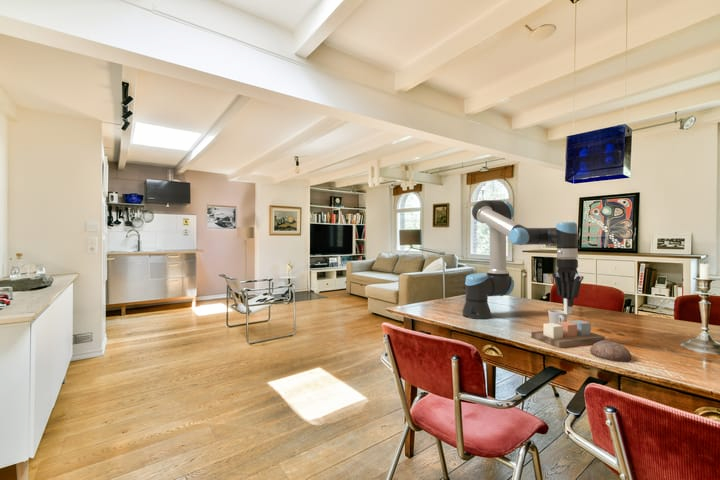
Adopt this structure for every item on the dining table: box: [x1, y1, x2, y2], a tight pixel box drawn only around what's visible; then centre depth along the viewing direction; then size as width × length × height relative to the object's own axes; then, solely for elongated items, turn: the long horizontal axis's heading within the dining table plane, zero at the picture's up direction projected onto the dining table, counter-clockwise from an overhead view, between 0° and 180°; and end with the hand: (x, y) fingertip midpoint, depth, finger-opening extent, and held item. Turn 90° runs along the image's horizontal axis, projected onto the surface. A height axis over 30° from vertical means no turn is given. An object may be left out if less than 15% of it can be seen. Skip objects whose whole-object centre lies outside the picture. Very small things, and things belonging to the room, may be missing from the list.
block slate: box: [570, 319, 592, 335], centre depth 139 cm, size 5×5×5 cm
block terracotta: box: [557, 321, 577, 337], centre depth 137 cm, size 5×5×5 cm
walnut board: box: [530, 330, 606, 349], centre depth 137 cm, size 14×24×2 cm, turn 106°
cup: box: [547, 309, 568, 324], centre depth 153 cm, size 11×8×8 cm
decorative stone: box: [589, 339, 632, 363], centre depth 118 cm, size 12×12×6 cm
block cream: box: [542, 322, 563, 339], centre depth 135 cm, size 5×5×5 cm
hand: (567, 313), depth 136 cm, fingers closed
